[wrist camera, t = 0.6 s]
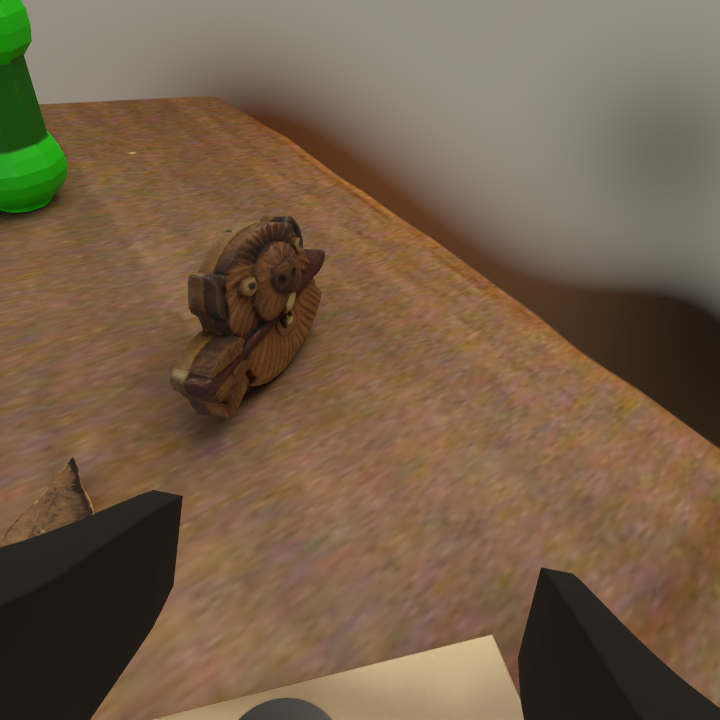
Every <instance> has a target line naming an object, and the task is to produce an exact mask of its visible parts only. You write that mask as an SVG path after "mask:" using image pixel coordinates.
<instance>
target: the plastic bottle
mask: <svg viewBox="0 0 720 720" xmlns="http://www.w3.org/2000/svg"><path fill="white" fill-rule="evenodd" d="M30 43H31V29H30V22H29V19H28V15H27V12H26V8H25V7H24V5H23V4H22V2H21V0H0V210H1V211H5V212H9V213H19V212H29V211H32V210H35V209H38V208H41V207H44V206H46V205H47V204H48V203H49V202H50V201H51V200H52V199H53V196H54V195H55V194H56V192H57V191H58V190H59V188H60V187H61V186H62V185H63V183H64V181H65V179H66V175H67V163H66V159H65V156H64V154H63V152H62V150H61V148H60V147H59V145H58V144H57V142H56V141H55V140H54V138H53V137H52V135H51V134H50V133H49V132H48V131H47V130H46V127H45V124H44V121H43V118H42V114H41V111H40V108H39V104H38V101H37V98H36V95H35V91H34V88H33V85H32V81H31V78H30V75H29V72H28V68H27V65H26V61H25V58H24V54H25V52H26V50H27V48H28V46H29V44H30Z"/></svg>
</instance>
